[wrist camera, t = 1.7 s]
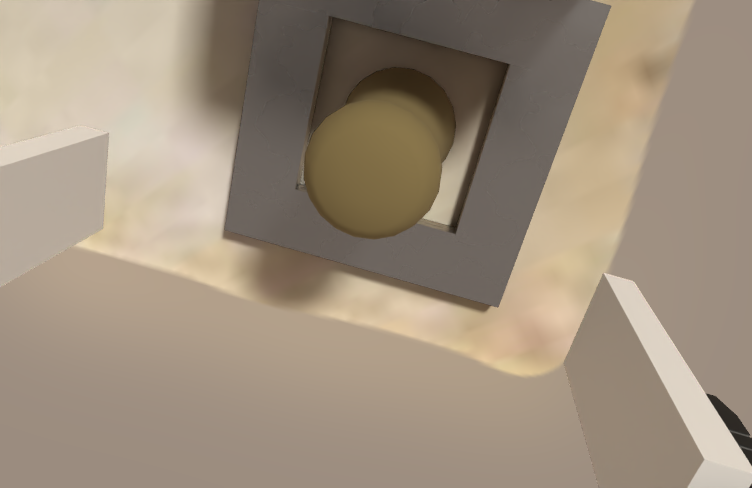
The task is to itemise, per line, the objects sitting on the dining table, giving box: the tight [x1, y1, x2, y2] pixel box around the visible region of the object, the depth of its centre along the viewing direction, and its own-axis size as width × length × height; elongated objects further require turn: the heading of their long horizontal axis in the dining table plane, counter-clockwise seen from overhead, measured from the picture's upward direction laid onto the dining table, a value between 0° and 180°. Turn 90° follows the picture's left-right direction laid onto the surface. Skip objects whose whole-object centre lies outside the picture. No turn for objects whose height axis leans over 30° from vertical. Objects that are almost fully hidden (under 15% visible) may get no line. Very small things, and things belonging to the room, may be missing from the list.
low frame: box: [225, 0, 611, 307], centre depth 30 cm, size 16×16×1 cm
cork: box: [304, 67, 456, 239], centre depth 25 cm, size 6×6×11 cm
